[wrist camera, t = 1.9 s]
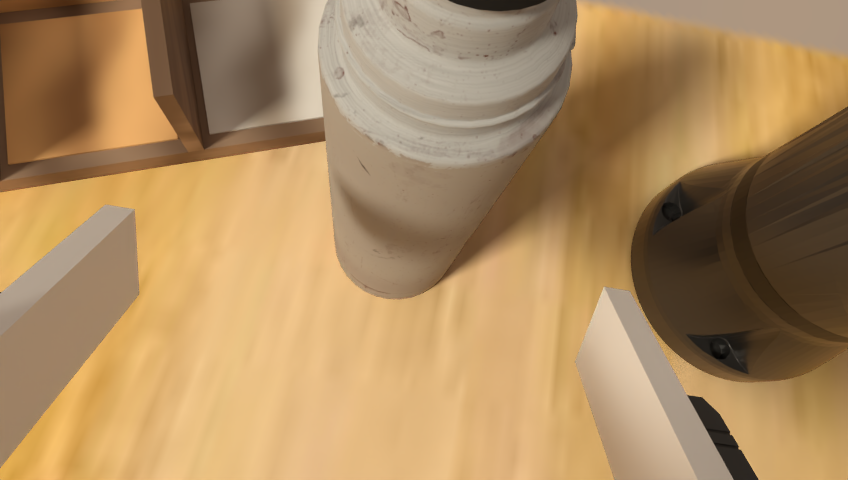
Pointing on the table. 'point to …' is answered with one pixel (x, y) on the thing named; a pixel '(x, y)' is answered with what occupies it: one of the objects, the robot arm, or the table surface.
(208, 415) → the table surface
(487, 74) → the thermos bottle
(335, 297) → the table surface
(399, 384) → the table surface
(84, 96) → the rack
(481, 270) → the table surface
